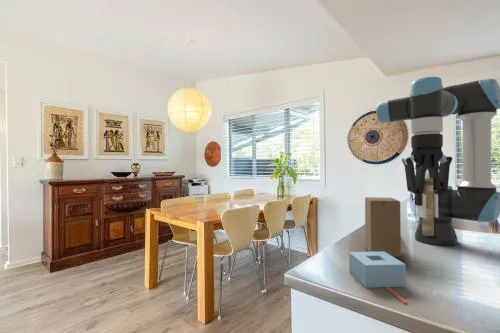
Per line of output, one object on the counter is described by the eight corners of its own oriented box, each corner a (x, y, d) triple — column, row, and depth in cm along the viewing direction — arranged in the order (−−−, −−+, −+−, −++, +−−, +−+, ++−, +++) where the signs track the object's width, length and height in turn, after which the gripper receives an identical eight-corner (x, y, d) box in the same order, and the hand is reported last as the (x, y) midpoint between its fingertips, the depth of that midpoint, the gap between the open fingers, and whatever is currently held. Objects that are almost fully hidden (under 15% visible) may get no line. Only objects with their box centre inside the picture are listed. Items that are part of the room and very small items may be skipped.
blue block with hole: (384, 270, 85) (384, 251, 85) (405, 286, 74) (405, 264, 74) (349, 271, 85) (349, 252, 85) (365, 287, 74) (365, 265, 74)
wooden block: (401, 257, 97) (400, 200, 97) (371, 255, 99) (370, 200, 99) (392, 248, 107) (392, 197, 107) (365, 247, 109) (364, 197, 109)
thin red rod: (389, 288, 73) (389, 287, 73) (407, 304, 65) (407, 302, 65) (386, 288, 73) (386, 287, 73) (404, 304, 65) (404, 302, 65)
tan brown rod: (429, 233, 80) (428, 177, 79) (436, 235, 77) (435, 178, 76) (419, 233, 79) (418, 178, 79) (426, 236, 77) (425, 178, 76)
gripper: (443, 134, 82) (444, 213, 82) (391, 135, 81) (393, 215, 81) (464, 132, 74) (465, 218, 74) (407, 133, 73) (408, 220, 74)
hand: (427, 216), depth 78 cm, fingers closed on tan brown rod, 3 cm apart
